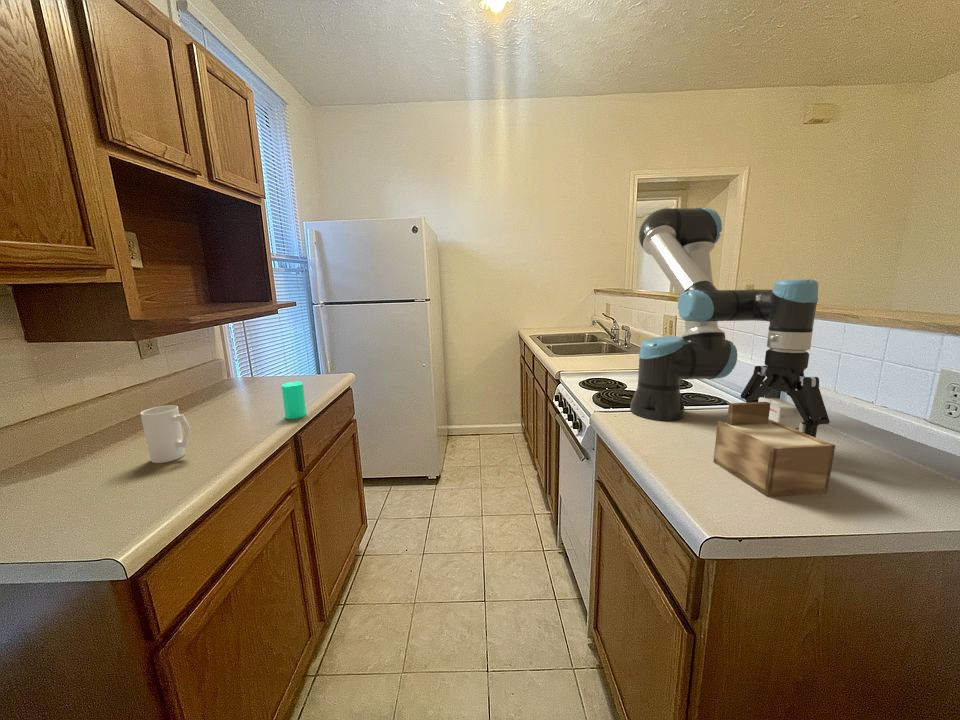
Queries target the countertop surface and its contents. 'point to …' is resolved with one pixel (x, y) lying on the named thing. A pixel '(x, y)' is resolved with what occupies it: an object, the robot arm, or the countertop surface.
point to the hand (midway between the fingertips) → (775, 439)
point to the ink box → (783, 412)
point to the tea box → (774, 462)
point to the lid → (762, 425)
